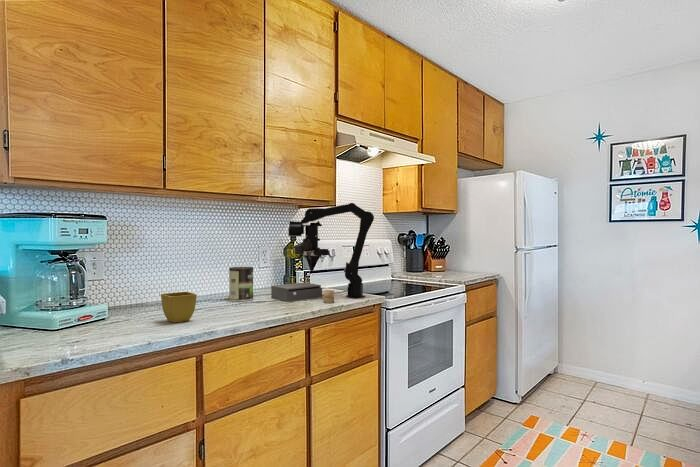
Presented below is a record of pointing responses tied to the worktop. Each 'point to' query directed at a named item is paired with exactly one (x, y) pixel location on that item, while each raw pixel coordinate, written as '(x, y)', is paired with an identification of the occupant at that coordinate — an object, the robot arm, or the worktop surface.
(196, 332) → the worktop surface
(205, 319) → the worktop surface
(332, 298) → the oak stand
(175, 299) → the flower pot
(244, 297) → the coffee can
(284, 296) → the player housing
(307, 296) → the tray
